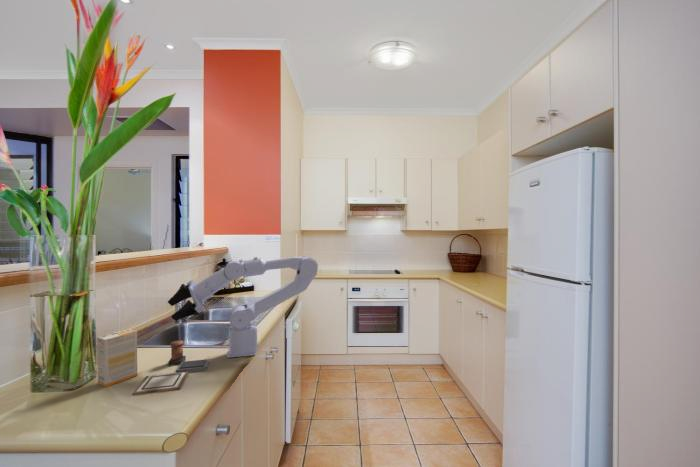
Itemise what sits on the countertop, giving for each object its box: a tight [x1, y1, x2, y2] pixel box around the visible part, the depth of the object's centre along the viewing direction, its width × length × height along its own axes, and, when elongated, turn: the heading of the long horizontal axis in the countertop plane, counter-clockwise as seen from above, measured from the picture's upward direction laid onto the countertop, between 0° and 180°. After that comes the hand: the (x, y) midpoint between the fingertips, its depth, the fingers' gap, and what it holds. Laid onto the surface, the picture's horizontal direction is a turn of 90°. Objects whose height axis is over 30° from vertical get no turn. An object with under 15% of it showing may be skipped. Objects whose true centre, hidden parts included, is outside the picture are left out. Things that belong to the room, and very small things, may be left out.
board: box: [131, 372, 190, 396], centre depth 88 cm, size 11×10×1 cm
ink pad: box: [175, 358, 210, 373], centre depth 98 cm, size 8×6×1 cm
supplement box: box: [96, 328, 138, 388], centre depth 91 cm, size 8×5×13 cm, turn 150°
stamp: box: [167, 340, 186, 366], centre depth 103 cm, size 4×4×6 cm
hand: (171, 311), depth 104 cm, fingers open, 7 cm apart
